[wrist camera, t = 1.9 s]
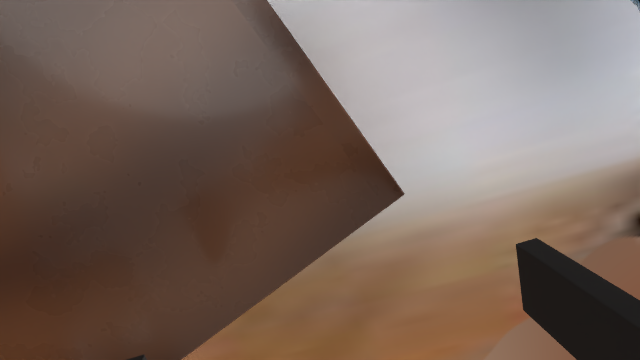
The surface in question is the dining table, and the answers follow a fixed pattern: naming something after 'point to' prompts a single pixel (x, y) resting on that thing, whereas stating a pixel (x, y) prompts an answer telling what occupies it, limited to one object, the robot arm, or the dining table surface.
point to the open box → (163, 173)
